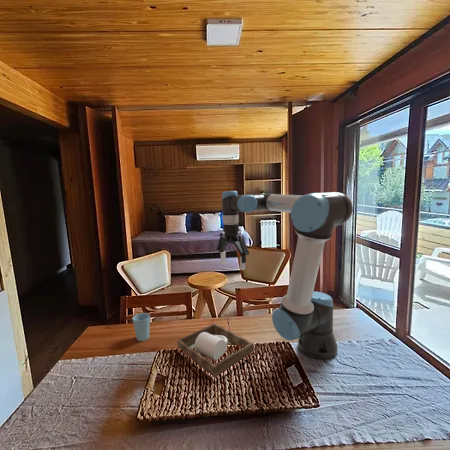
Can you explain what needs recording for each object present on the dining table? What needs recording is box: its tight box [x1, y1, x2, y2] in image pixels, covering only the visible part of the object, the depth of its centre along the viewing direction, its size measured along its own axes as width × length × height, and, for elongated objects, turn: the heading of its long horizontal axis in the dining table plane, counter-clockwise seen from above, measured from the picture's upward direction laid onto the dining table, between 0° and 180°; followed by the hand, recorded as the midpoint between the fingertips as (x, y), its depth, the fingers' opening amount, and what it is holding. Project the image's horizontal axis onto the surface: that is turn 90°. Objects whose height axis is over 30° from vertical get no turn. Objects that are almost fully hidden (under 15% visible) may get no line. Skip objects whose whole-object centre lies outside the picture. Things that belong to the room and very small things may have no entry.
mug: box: [195, 332, 227, 361], centre depth 107 cm, size 12×10×8 cm
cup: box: [131, 312, 151, 342], centre depth 123 cm, size 8×8×10 cm
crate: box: [176, 322, 255, 377], centre depth 108 cm, size 24×20×6 cm
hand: (232, 267), depth 130 cm, fingers open, 13 cm apart
